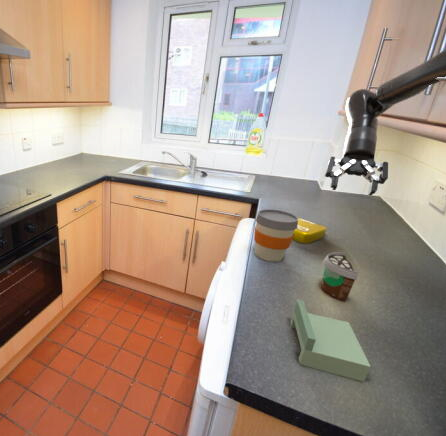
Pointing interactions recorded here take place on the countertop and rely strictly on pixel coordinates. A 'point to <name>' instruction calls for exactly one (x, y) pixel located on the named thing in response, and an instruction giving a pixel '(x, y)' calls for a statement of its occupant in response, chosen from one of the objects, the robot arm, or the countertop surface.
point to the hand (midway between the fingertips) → (352, 191)
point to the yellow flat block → (308, 232)
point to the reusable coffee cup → (274, 233)
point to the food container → (338, 276)
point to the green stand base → (329, 344)
